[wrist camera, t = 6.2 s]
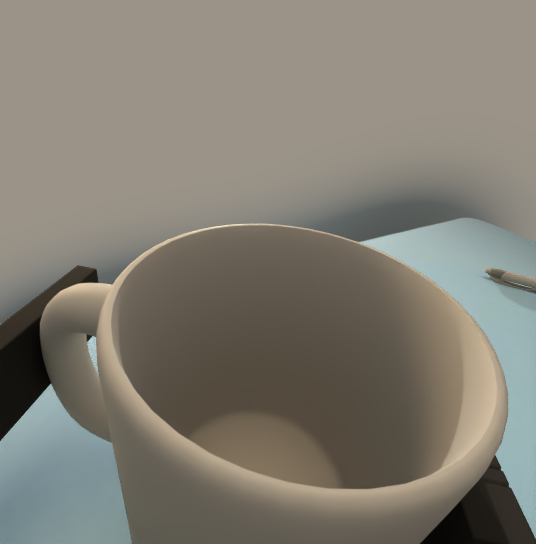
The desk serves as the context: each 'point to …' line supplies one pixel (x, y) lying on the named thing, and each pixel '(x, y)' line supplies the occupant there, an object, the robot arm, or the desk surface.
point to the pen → (512, 279)
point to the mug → (279, 389)
